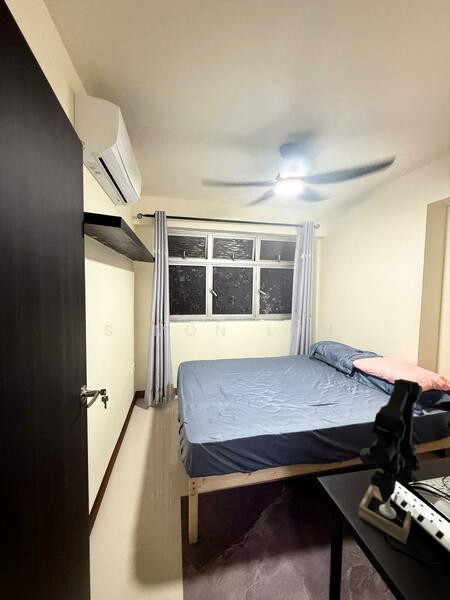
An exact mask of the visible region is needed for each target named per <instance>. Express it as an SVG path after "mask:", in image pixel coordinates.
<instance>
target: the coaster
mask: <svg viewBox="0 0 450 600" xmlns="http://www.w3.org/2000/svg"><path fill="white" fill-rule="evenodd" d="M373 486H374V485H373ZM372 498H373V499H376V500H378V501H380V502H382V503H383V504H385V502H383V500H382V497H381V494H380V491H379V488H378V487H376V486H374V494H373V497H372ZM390 505H391V504H390Z"/></svg>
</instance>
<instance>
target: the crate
mask: <svg viewBox="0 0 450 600" xmlns="http://www.w3.org/2000/svg"><path fill="white" fill-rule="evenodd" d="M373 494H374V485H372V484H370V485H369V486H368V489H367V490H366V493H365V495H364V496H363V498H362V500H361V502H360V503H359V506H358V517H359V518H362V520H364V521H366V522H368V523H369V524H371V525H373V526H375V527H376V528H377V529H379V530H381V531H383V532H385V533H386V534H388V535H389V536H392V537H393V538H395V539H397V540H398V541H400V542H402V543H403V544H404V545H405V544H407V540H408V536H409V533H410V530H411V526H412V522H411V520H412V521H413V519H411V512H410V511H408V510H407V511H406V512H407V513H406V515H405V519H404V522H403V526H402V527H401V526H399V525H397V524H395V523H394V522H392V521H390V520H388V518H387V519H386V517H383V516H381V515H380V514H378V513H376V512H374V511H372V510H370V509H369V508H368V507H369V504H370V503H371V502H372V499H373V498H374V497H373Z"/></svg>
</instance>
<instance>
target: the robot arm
mask: <svg viewBox="0 0 450 600" xmlns="http://www.w3.org/2000/svg"><path fill="white" fill-rule="evenodd" d="M419 384H420V383H419V382H417V381H413V380H408V379H403V378H399V379H394V381H393V390H392V392H391V395H390V397H389V400H388V402H387V404H386V405H383V406H381V407H380V409H379V410H378V412H376V414H375V417H374V423H373V427H372V431H371V433H372V434H373V435H376V440H375V441H374V442H373V444H372V445H371V446H370V447H364V448H361V451H360V452H359V460H361V462H362V464H364V465H371V464H372V465H375V468H378V469H380V468H381V470H382V471H383V472H381V471H379V470H374V471H373V473H372V474H371V476H370V483H371V484H370V485H372V486H376V487H378V488H379V491H380V494H381V497H382V500H383V502H382V503H384V502H385V503H387V501H388V500H389V498H390V497H391V495H392V494H393V493H394V492H395V490H396V485H397V484H396V482H397V481H398V482H400V483H403V484H405V483H406V484H405V485H407V483H408V482H412V481H413V480H415V481H416V480H417V479H416V477H417V476H415V475H414V472H418V471H421V463H420V458H419V457H418V455H417V448H416V446H415V445H414V443H413V440H412V439H413V427H414V425H413V424H414V414H415V412H414V410H415V409H414V408H415V403H417V402H418V401H419V399H420V397H421V396H422V395H423V386H422V385H419ZM385 503H384V504H385Z"/></svg>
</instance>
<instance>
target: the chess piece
mask: <svg viewBox="0 0 450 600" xmlns="http://www.w3.org/2000/svg"><path fill="white" fill-rule="evenodd" d="M391 499H392V498H391V497H390V498H389V500H388V501H387V503H382V504H380V505H379V506H378V507H379V508H378V509H379V512H380V514H381V515H382V516H384V518H387V519H390V520H392V519H393V520H394V519H395V518H396V519H397V512H396V510H395V509H394V508H393V506H392V507H391V506H390V500H391Z"/></svg>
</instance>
